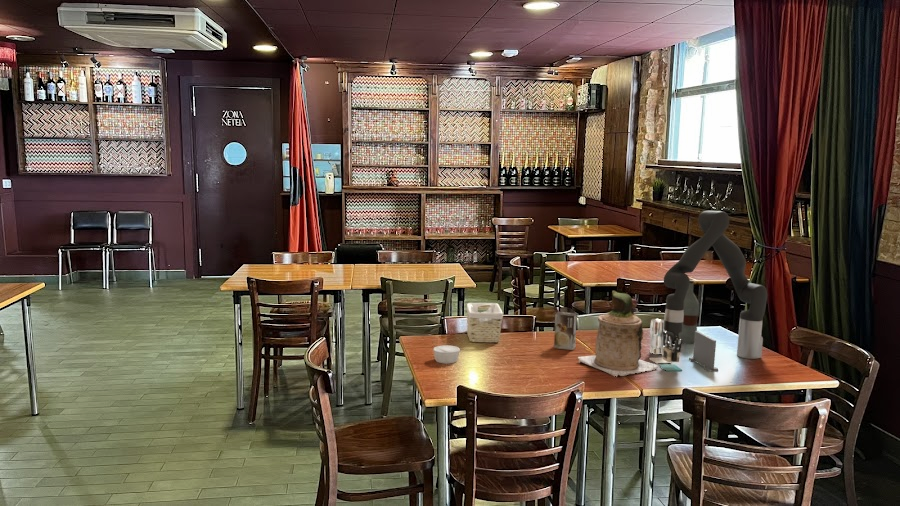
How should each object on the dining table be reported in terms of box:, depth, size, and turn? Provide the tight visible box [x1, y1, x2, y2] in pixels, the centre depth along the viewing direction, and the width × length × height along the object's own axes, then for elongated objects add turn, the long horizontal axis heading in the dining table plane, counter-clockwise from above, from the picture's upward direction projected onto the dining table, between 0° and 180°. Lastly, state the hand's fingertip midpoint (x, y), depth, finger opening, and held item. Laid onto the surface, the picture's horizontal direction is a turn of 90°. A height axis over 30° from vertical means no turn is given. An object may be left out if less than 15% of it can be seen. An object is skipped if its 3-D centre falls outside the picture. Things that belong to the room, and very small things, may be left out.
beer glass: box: [649, 318, 667, 355], centre depth 304 cm, size 7×7×15 cm
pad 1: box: [648, 357, 673, 365], centre depth 292 cm, size 7×7×1 cm
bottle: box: [679, 280, 700, 345], centre depth 324 cm, size 9×9×30 cm
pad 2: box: [658, 364, 683, 372], centre depth 282 cm, size 7×7×1 cm
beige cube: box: [661, 346, 681, 363], centre depth 281 cm, size 5×5×5 cm
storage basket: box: [466, 302, 504, 343], centre depth 325 cm, size 24×16×15 cm
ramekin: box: [432, 344, 461, 365], centre depth 286 cm, size 11×11×5 cm
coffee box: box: [553, 311, 578, 351], centre depth 309 cm, size 9×6×16 cm
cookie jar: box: [577, 290, 659, 378], centre depth 282 cm, size 25×25×32 cm
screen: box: [688, 330, 719, 372], centre depth 287 cm, size 5×16×13 cm, turn 7°
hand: (670, 359), depth 282 cm, fingers closed on beige cube, 5 cm apart
